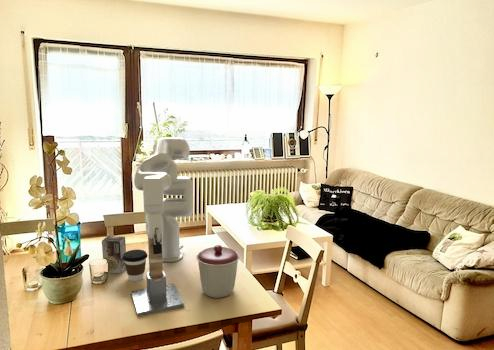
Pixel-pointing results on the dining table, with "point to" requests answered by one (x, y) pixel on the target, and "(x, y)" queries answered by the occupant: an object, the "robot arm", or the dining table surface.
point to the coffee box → (114, 253)
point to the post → (154, 261)
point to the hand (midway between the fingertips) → (155, 249)
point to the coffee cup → (135, 264)
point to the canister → (218, 270)
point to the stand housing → (156, 296)
